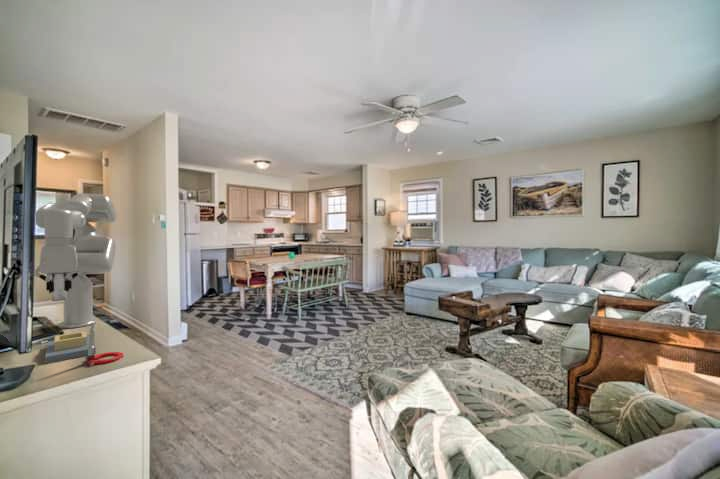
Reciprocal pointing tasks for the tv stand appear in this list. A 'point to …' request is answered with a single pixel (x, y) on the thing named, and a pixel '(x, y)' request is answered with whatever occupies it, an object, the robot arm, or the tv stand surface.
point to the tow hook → (93, 359)
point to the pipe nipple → (59, 286)
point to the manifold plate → (67, 347)
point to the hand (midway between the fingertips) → (59, 291)
